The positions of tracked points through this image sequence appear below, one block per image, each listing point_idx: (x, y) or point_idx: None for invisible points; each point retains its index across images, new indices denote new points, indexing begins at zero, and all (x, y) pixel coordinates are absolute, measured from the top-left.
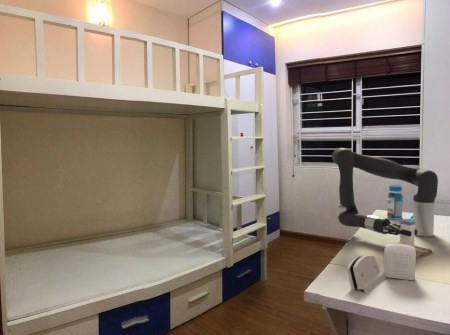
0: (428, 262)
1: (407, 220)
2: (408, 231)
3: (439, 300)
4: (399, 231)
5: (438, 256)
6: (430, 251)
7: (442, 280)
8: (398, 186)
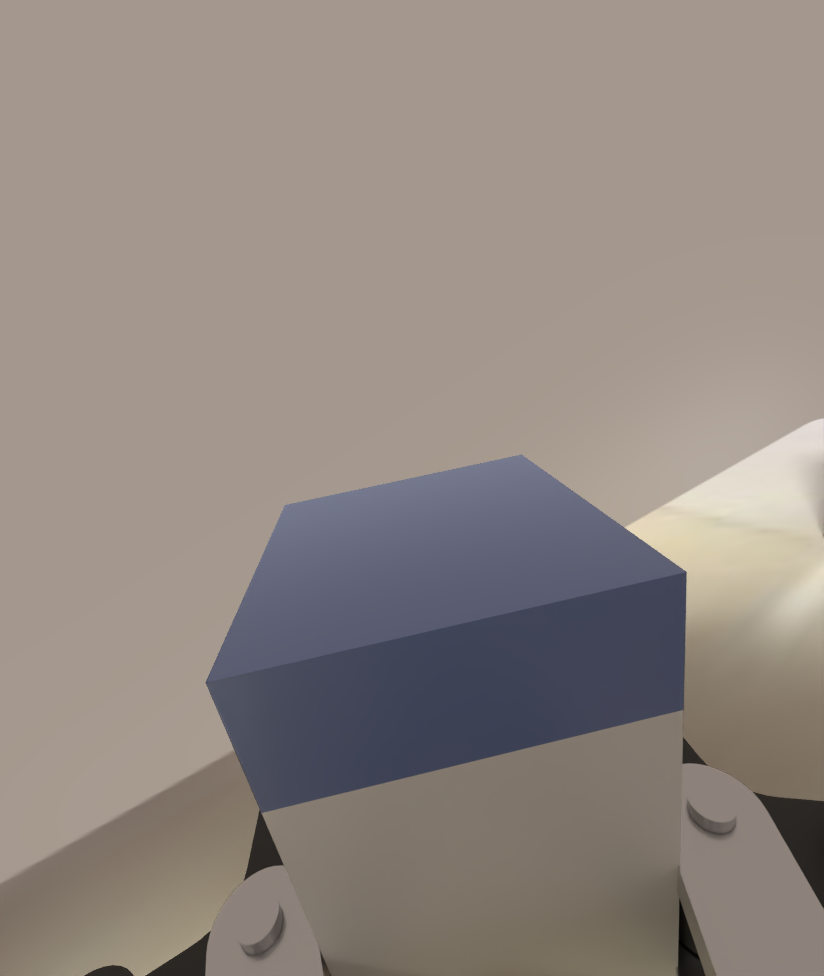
0: None
1: (420, 535)
2: None
3: (778, 453)
4: (777, 810)
5: None
6: None
7: (654, 520)
8: None
